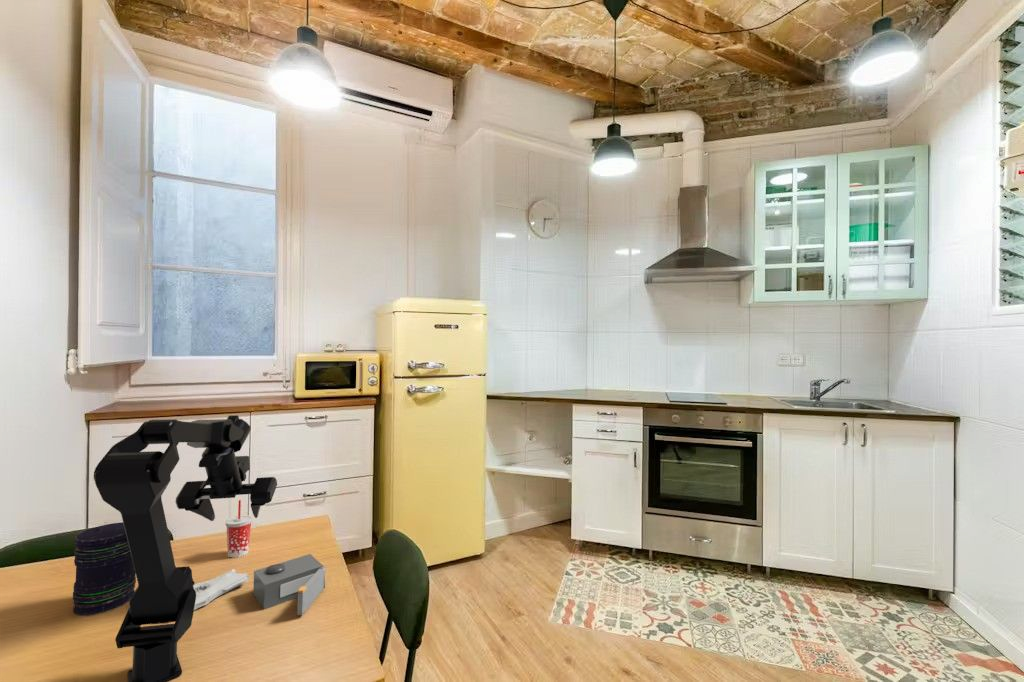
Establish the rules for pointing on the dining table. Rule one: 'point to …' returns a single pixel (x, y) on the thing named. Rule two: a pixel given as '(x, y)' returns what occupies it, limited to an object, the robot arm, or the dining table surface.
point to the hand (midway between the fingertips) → (235, 517)
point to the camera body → (283, 580)
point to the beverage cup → (238, 534)
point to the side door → (310, 590)
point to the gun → (217, 587)
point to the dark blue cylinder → (102, 570)
